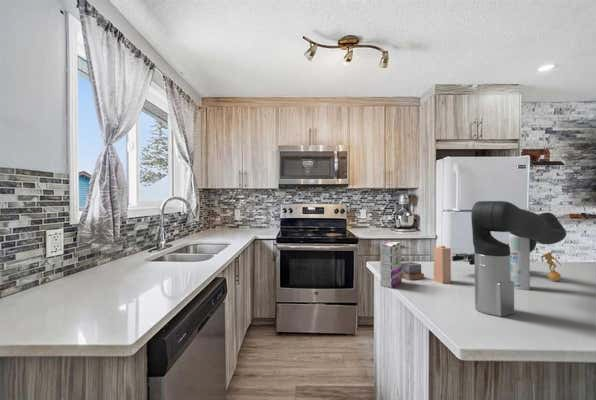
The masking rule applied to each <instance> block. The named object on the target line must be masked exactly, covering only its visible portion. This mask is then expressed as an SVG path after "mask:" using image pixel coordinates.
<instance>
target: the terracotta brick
mask: <svg viewBox="0 0 596 400" xmlns="http://www.w3.org/2000/svg"><path fill="white" fill-rule="evenodd" d="M451 250H452V249H451V247H446V246H445V245H438V246H436V247H433V282H436V283H440V284H448V283H449V284H450V283H451V282H452V271H451V270H452V267H451V266H452V263H451V262H452V261H451V260H452V259H451V258H452V256H451V255H452V254H451V253H452V252H451Z"/></svg>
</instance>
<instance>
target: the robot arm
mask: <svg viewBox="0 0 596 400" xmlns="http://www.w3.org/2000/svg"><path fill="white" fill-rule="evenodd" d="M470 216H471V230H472V231H471V232H472V244H473V248H474V252H473V253H466V252H463V253H455V255H452V256H451V258H452V259H451V260H452V261H451V262H464V263H468V264H469V265H471V266H473V265H474V308H475V309H476V310H477V311H478V312H481V313H484V314H487V315H492V316H498V317H504V316H510V315H514V314H515V288H514V282H513V281H511V279H510V247H509V243H504V242H502V241H500V240H498V239H497V238H495V237H494V236H493V235H492V233H491V232H495V233H496V232H498V233H510V235H515V236H518V237H522V238H528V239H530V253H532V252H533V251H534V250H535V248H536V245H537V243H538V244H542V245H554V244H557V243H559V242H562V241H563V240H564V239H565V238H566V237H567V232H566V229H565V227H564V226H563V225H562V223H561V222H560V221H559V219H558V218H557V217H556V216H555V214H554V213H552V212H542V213H540V214H539V213H538V214H537V213H536V212H533V211H531V210H526V209H522V208H520V207H518V206H516V205H515V204H514V203H512V202H509V201H505V200H504V201H503V200H482V201H477V202H475V203H474V204H473V206H472V209H471V215H470Z"/></svg>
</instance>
